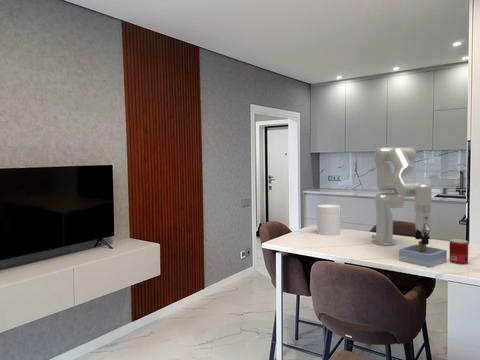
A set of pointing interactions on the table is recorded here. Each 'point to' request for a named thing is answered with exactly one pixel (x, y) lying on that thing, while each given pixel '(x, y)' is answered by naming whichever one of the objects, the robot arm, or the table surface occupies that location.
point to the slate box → (423, 256)
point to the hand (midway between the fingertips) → (421, 241)
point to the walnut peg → (422, 247)
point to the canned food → (458, 251)
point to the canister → (328, 220)
